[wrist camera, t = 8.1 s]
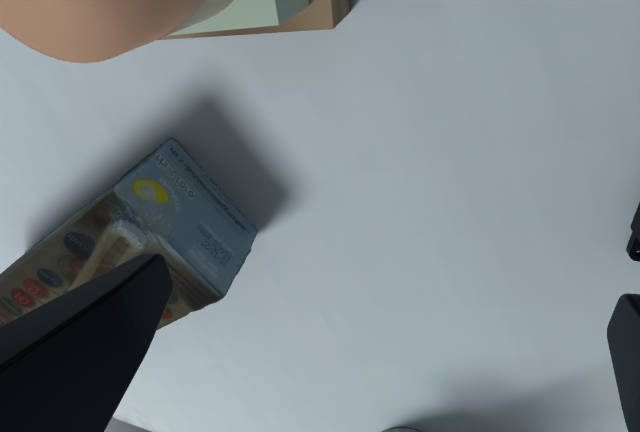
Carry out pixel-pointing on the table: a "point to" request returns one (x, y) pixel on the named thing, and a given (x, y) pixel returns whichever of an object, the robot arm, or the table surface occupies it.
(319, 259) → the table surface
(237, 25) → the top block
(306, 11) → the base block
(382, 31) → the table surface
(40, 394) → the robot arm
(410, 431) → the house plant
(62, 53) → the pink domed cylinder
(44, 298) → the beverage carton
